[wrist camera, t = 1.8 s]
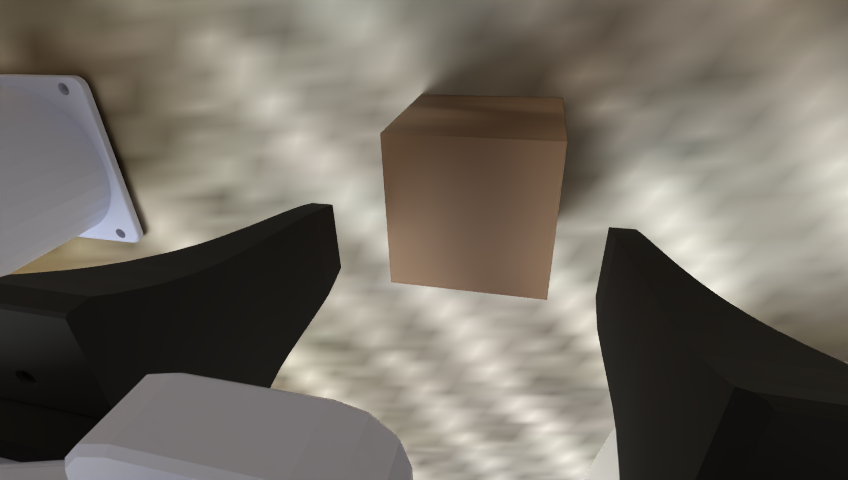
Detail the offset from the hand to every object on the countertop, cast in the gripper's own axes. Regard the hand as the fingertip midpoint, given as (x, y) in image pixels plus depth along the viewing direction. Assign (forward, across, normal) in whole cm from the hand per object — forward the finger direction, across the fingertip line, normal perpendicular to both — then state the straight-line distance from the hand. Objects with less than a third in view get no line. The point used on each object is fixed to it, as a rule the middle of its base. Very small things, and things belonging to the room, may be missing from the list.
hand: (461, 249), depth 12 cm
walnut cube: (+7, 0, 0) cm, 7 cm away
